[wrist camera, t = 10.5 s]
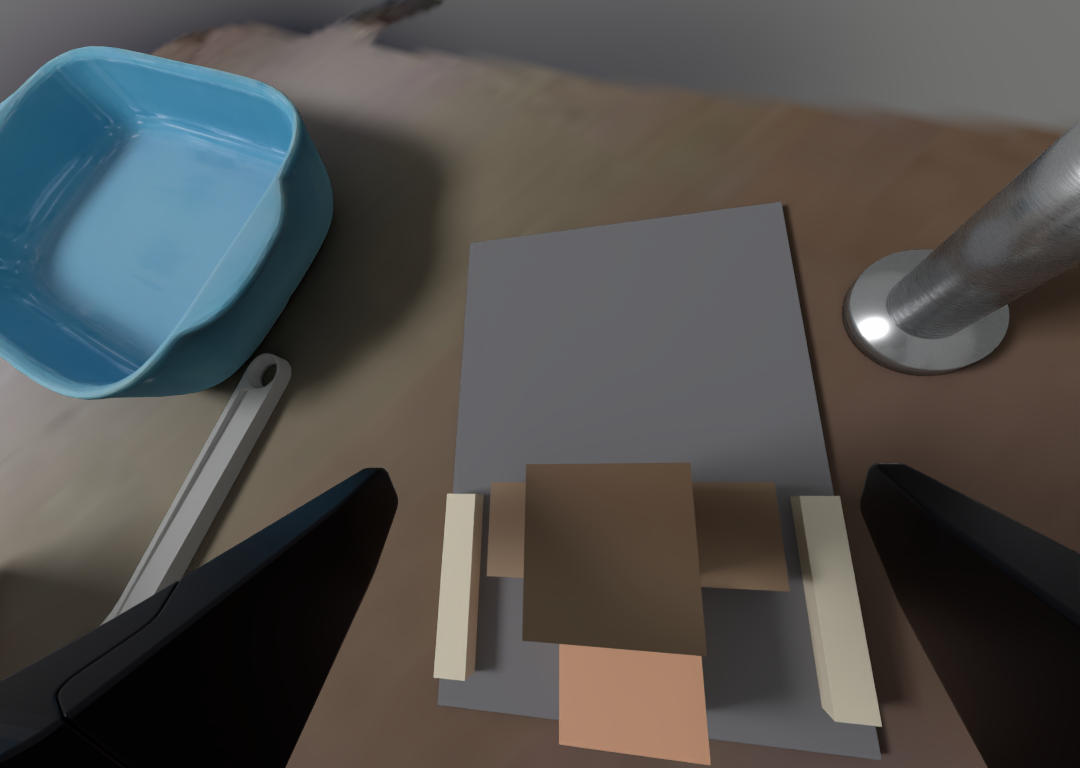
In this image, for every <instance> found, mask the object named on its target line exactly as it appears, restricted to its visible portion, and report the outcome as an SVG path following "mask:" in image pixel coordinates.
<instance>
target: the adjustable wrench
mask: <svg viewBox="0 0 1080 768" xmlns="http://www.w3.org/2000/svg"><path fill="white" fill-rule="evenodd" d="M273 364H276V365H277V371H276V374H275V377H274V378H273V380H272V381H271V382H270V383H269V384H268V385H267V386H265V387H264V386H263V382H262V379H263V375H264V373H265V371H266V370H267V369H268V368H269V367H270V366H271V365H273ZM290 378H291V366H290V364H289V363H288V362H287V361H286V360H284V359H282V358H280V357H278V356H276V355H273V354H269V353H266V354H261V355H259V356H257V357H256V358H255V359H254V360H253V361H252V362H251V363H250V365H249V366H248V368H247V369H246V371H245V373H244V375H243V377H242V378H241V380H240V382H239V384H238V386H237V387H236V389H235V391H234V393H233V395H232V396H231V398H230V400H229V402H228V404H227V406H226V407H225V409H224V411H223V413H222V415H221V416H220V418H219V420H218V422H217V424H216V425H215V427H214V429H213V431H212V433H211V434H210V436H209V438H208V440H207V442H206V444H205V445H204V447H203V449H202V451H201V453H200V454H199V456H198V458H197V460H196V462H195V463H194V465H193V467H192V469H191V471H190V472H189V474H188V476H187V478H186V480H185V481H184V483H183V485H182V487H181V489H180V491H179V492H178V494H177V496H176V498H175V500H174V501H173V503H172V505H171V507H170V509H169V510H168V512H167V514H166V516H165V518H164V519H163V521H162V523H161V525H160V527H159V528H158V530H157V532H156V534H155V536H154V538H153V539H152V541H151V543H150V545H149V547H148V548H147V550H146V552H145V554H144V556H143V557H142V559H141V561H140V563H139V565H138V566H137V568H136V570H135V572H134V574H133V575H132V577H131V579H130V581H129V583H128V585H127V586H126V588H125V590H124V592H123V594H122V595H121V597H120V599H119V601H118V602H117V604H116V605H115V607H114V608H113V610H112V611H111V613H110V614H109V615H108V616H107V618H106V619H105V620H104V621H103V623H102V624H104V623H106V622H108V621H109V620H111V619H113V618H115V617H117V616H118V615H120V614H122V613H123V612H125V611H127V610H128V609H130V608H132V607H134V606H135V605H137V604H139V603H140V602H142V601H144V600H146V599H147V598H149V597H151V596H152V595H154V594H156V593H157V592H159V591H161V590H162V589H164V588H166V587H167V586H169V585H171V584H172V583H174V582H176V581H180V580H181V578H182V577H183V575H184V573H185V571H186V569H187V567H188V566H189V564H190V562H191V560H192V558H193V556H194V555H195V553H196V551H197V549H198V547H199V546H200V544H201V542H202V540H203V538H204V536H205V535H206V533H207V531H208V529H209V527H210V525H211V524H212V522H213V520H214V518H215V516H216V514H217V513H218V511H219V509H220V507H221V505H222V503H223V502H224V500H225V498H226V496H227V494H228V493H229V491H230V489H231V487H232V485H233V483H234V482H235V480H236V478H237V476H238V474H239V472H240V471H241V469H242V467H243V465H244V463H245V461H246V460H247V458H248V456H249V454H250V452H251V451H252V449H253V447H254V445H255V443H256V441H257V440H258V438H259V436H260V434H261V432H262V430H263V429H264V427H265V425H266V423H267V421H268V419H269V418H270V416H271V414H272V412H273V410H274V409H275V407H276V405H277V403H278V401H279V399H280V398H281V396H282V394H283V392H284V390H285V388H286V387H287V385H288V383H289V380H290ZM102 624H101V625H102ZM101 625H100V626H101Z"/></svg>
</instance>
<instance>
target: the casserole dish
mask: <svg viewBox="0 0 1080 768" xmlns="http://www.w3.org/2000/svg"><path fill="white" fill-rule="evenodd" d="M332 215H333V192H332V187H331V183H330V179H329V177H328V174H327V171H326V169H325V166H324V164H323V162H322V160H321V158H320V156H319V154H318V151H317V149H316V147H315V145H314V143H313V141H312V139H311V137H310V135H309V133H308V131H307V129H306V127H305V125H304V123H303V120H302V118H301V116H300V114H299V112H298V110H297V109H296V107H295V106H294V104H293V103H292V102H291V101H290V100H289V99H288V97H287V96H285V95H284V94H283V93H282V92H280V91H279V90H277V89H275V88H274V87H272V86H270V85H267V84H265V83H262V82H260V81H257V80H254V79H251V78H248V77H244V76H240V75H236V74H232V73H228V72H224V71H220V70H215V69H211V68H206V67H201V66H197V65H192V64H187V63H183V62H178V61H174V60H170V59H165V58H161V57H157V56H152V55H148V54H143V53H139V52H134V51H129V50H124V49H118V48H111V47H98V46H89V47H83V48H79V49H73V50H70V51H68V52H66V53H64V54H61V55H59V56H58V57H56V58H54V59H52V60H51V61H49V62H48V63H46V64H45V65H44V66H43V67H42V68H40V69H39V70H38V71H37V72H36V73H34V75H32V76H31V77H30V78H29V79H28V80H27V81H26V82H25V83H24V84H23V85H22V86H21V87H20V88H19V89H18V90H17V91H16V92H14V94H12V95H11V96H10V97H8V98H7V99H6V100H5V101H3V102H2V103H1V104H0V356H1V357H2V358H3V359H5V360H6V361H7V362H9V363H10V364H11V365H12V366H14V367H15V368H16V369H17V370H19V371H20V372H22V373H23V374H25V375H26V376H28V377H29V378H31V379H32V380H33V381H35V382H37V383H39V384H40V385H42V386H44V387H45V388H47V389H50V390H52V391H54V392H57V393H59V394H61V395H65V396H68V397H73V398H79V399H87V400H90V399H105V398H120V397H162V396H173V395H184V394H189V393H195V392H199V391H202V390H205V389H208V388H211V387H213V386H215V385H217V384H219V383H221V382H223V381H224V380H226V379H227V378H229V377H230V376H231V375H233V374H234V373H235V372H236V371H237V370H238V369H239V368H240V367H241V366H242V365H243V364H244V363H245V362H246V361H247V360H248V359H249V358H250V357H251V356H252V354H253V353H254V352H255V350H256V349H257V348H258V347H259V345H260V344H261V343H262V341H263V340H264V338H265V337H266V335H267V334H268V332H269V331H270V329H271V328H272V326H273V325H274V323H275V322H276V320H277V319H278V317H279V316H280V314H281V313H282V311H283V310H284V308H285V306H286V305H287V303H288V300H289V298H290V296H291V295H292V293H293V292H294V291H295V289H296V288H297V286H298V285H299V283H300V281H301V280H302V278H303V276H304V275H305V273H306V271H307V270H308V268H309V266H310V265H311V263H312V261H313V260H314V258H315V256H316V254H317V253H318V251H319V249H320V247H321V245H322V243H323V241H324V239H325V237H326V235H327V233H328V230H329V227H330V224H331V221H332Z"/></svg>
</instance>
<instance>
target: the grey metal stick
mask: <svg viewBox="0 0 1080 768" xmlns="http://www.w3.org/2000/svg"><path fill="white" fill-rule="evenodd" d="M1079 263H1080V120H1079V121H1078V122H1077V123H1076V124H1075V125H1074V126H1072V127H1071V128H1070V129H1069V130H1068V131H1067V132H1066V133H1065V134H1063V135H1062V136H1061V137H1060V138H1059V139H1058V140H1057V141H1056V142H1054V143H1053V144H1052V145H1051V146H1050V147H1049V148H1048V149H1047V150H1046V151H1044V152H1043V153H1042V154H1041V155H1040V156H1039V157H1038V158H1037V159H1035V160H1034V161H1033V162H1032V163H1031V164H1030V165H1029V166H1028V167H1027V168H1025V169H1024V170H1023V171H1022V172H1021V173H1020V174H1019V175H1018V176H1016V177H1015V178H1014V179H1013V180H1012V181H1011V182H1010V183H1009V184H1008V185H1006V186H1005V187H1004V188H1003V189H1002V190H1001V191H1000V192H999V193H997V194H996V195H995V196H994V197H993V198H992V199H991V200H990V201H989V202H987V203H986V204H985V205H984V206H983V207H982V208H981V209H980V210H978V211H977V212H976V213H975V214H974V215H973V216H972V217H971V218H970V219H968V220H967V221H966V222H965V223H964V224H963V225H962V226H961V227H959V228H958V229H957V230H956V231H955V232H954V233H953V234H952V235H951V236H949V237H948V238H947V239H946V240H945V241H944V242H943V243H942V244H940V245H939V246H938V247H937V248H936V249H935V250H923V249H919V250H908V251H902V252H898V253H894V254H891V255H888V256H886V257H884V258H882V259H880V260H878V261H876V262H875V263H873V264H872V265H870V266H869V267H868V268H867V269H866V270H865V271H864V272H863V273H862V274H861V275H860V276H859V277H858V278H857V280H856V281H855V282H854V283H853V284H852V285H851V287H850V288H849V290H848V291H847V293H846V296H845V298H844V301H843V306H842V318H843V324H844V327H845V330H846V332H847V334H848V336H849V338H850V339H851V341H852V342H853V344H854V345H855V346H856V347H857V348H858V349H859V350H860V351H861V352H862V353H863V354H864V355H865V356H866V357H868V358H869V359H871V360H872V361H874V362H875V363H877V364H879V365H881V366H883V367H885V368H887V369H890V370H893V371H896V372H899V373H903V374H908V375H916V376H934V375H941V374H946V373H950V372H953V371H956V370H959V369H961V368H963V367H965V366H967V365H970V364H972V363H974V362H976V361H978V360H980V359H982V358H984V357H985V356H987V355H988V354H990V353H991V352H992V351H993V350H994V349H995V348H996V347H997V346H998V345H999V344H1000V342H1001V341H1002V339H1003V338H1004V336H1005V334H1006V331H1007V328H1008V324H1009V307H1008V304H1009V303H1011V302H1012V301H1014V300H1016V299H1018V298H1019V297H1021V296H1023V295H1025V294H1026V293H1028V292H1030V291H1032V290H1034V289H1035V288H1037V287H1039V286H1041V285H1042V284H1044V283H1046V282H1048V281H1049V280H1051V279H1053V278H1055V277H1056V276H1058V275H1060V274H1062V273H1064V272H1065V271H1067V270H1069V269H1071V268H1072V267H1074V266H1076V265H1078V264H1079Z"/></svg>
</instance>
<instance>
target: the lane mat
mask: <svg viewBox="0 0 1080 768" xmlns="http://www.w3.org/2000/svg"><path fill="white" fill-rule="evenodd" d="M600 463H690V466H691V477H692V482H775V489H776V496H777V503H778V510H779V517H780V524H781V531H782V538H783V545H784V552H785V559H786V566H787V574H788V581H789V588H790V592H789V591H769V590H750V589H730V588H711V587H701V592H702V603H703V615H704V626H705V638H706V649H707V656H701V657H702V669H703V681H704V693H705V704H706V716H707V728H708V739H716V740H724V741H732V742H740V743H748V744H756V745H764V746H772V747H780V748H788V749H796V750H804V751H812V752H820V753H828V754H836V755H844V756H852V757H860V758H868V759H876V760H882V759H881V754H880V748H879V743H878V737H877V732H876V726H879V727H882V723H881V718H880V712H879V707H878V701H877V696H876V690H875V685H874V679H873V674H872V668H871V663H870V658H869V652H868V647H867V641H866V636H865V630H864V625H863V619H862V614H861V609H860V603H859V598H858V592H857V587H856V581H855V576H854V570H853V565H852V560H851V554H850V549H849V543H848V538H847V532H846V527H845V521H844V516H843V511H842V505H841V500H840V496H834V493H833V487H832V481H831V476H830V470H829V465H828V459H827V454H826V448H825V442H824V437H823V431H822V426H821V420H820V415H819V409H818V404H817V398H816V392H815V387H814V381H813V376H812V370H811V365H810V359H809V354H808V348H807V342H806V337H805V331H804V326H803V320H802V315H801V309H800V303H799V298H798V292H797V287H796V281H795V276H794V270H793V265H792V259H791V253H790V248H789V242H788V237H787V231H786V226H785V220H784V214H783V209H782V203H781V202H776V203H769V204H761V205H754V206H746V207H739V208H731V209H724V210H716V211H709V212H701V213H694V214H686V215H679V216H671V217H664V218H656V219H648V220H641V221H633V222H626V223H618V224H611V225H603V226H596V227H588V228H581V229H573V230H566V231H558V232H551V233H543V234H536V235H528V236H521V237H513V238H506V239H498V240H491V241H483V242H476V243H470V256H469V270H468V284H467V298H466V312H465V327H464V341H463V355H462V369H461V383H460V397H459V411H458V426H457V440H456V454H455V468H454V482H453V494H447V504H446V517H445V531H444V544H443V558H442V571H441V585H440V598H439V612H438V625H437V639H436V652H435V665H434V678H440V680H439V694H438V705H444V706H452V707H460V708H468V709H476V710H484V711H492V712H500V713H508V714H516V715H524V716H532V717H540V718H548V719H556V720H559V644H554V643H542V642H530V641H522V622H523V579H524V578H515V577H495V576H487V559H488V537H489V516H490V494H491V482H526V464H600Z"/></svg>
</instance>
